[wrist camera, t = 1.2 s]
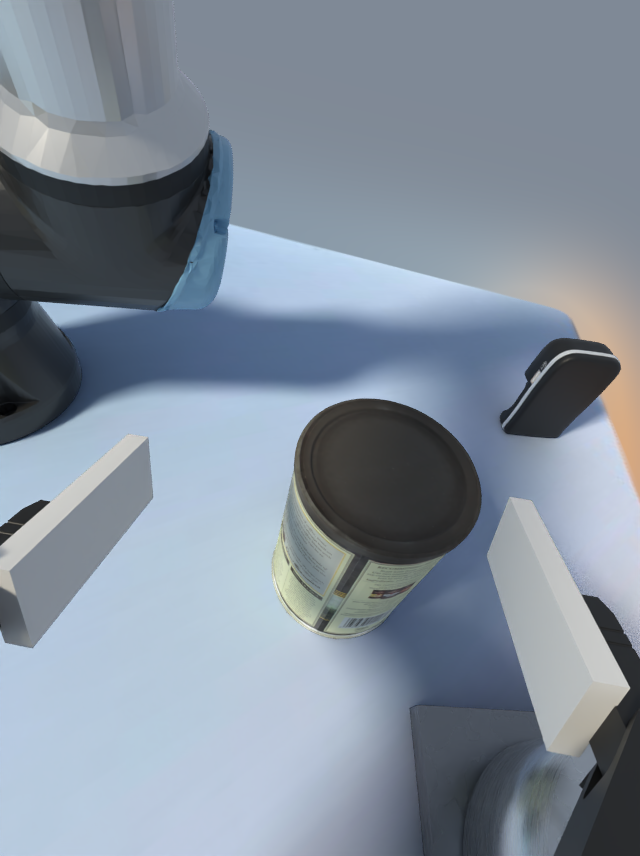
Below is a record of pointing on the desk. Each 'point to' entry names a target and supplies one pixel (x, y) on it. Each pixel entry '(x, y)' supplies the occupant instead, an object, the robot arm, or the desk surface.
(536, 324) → the desk surface
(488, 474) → the desk surface
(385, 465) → the coffee can
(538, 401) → the battery charger
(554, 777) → the door knob
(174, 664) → the desk surface
